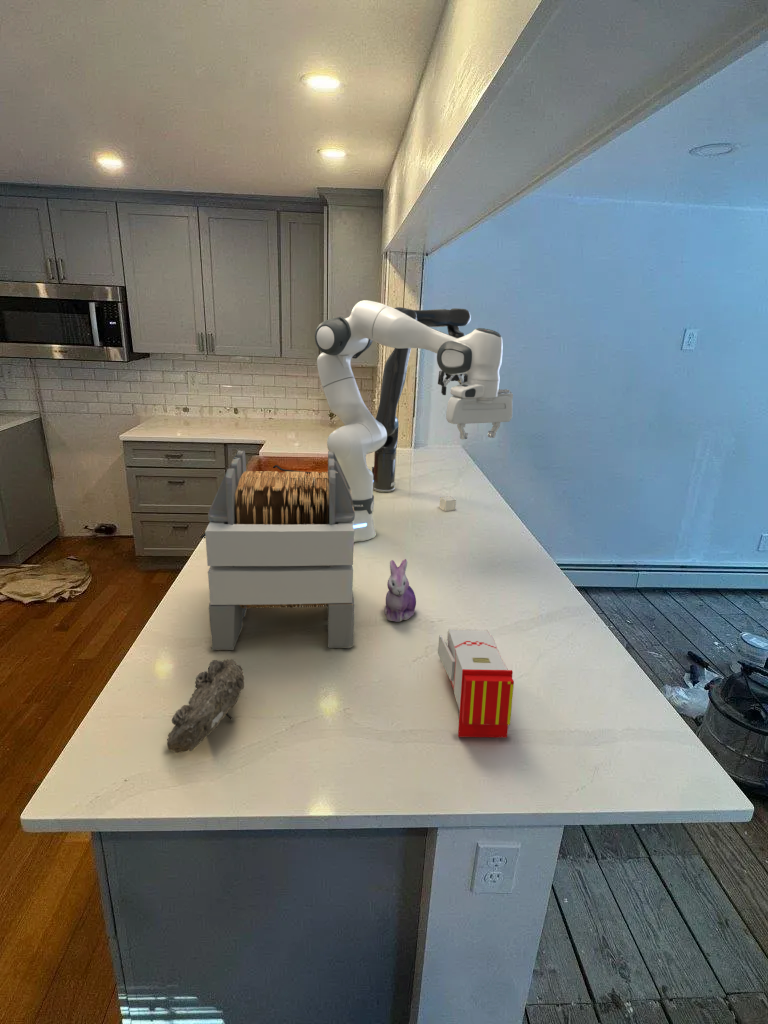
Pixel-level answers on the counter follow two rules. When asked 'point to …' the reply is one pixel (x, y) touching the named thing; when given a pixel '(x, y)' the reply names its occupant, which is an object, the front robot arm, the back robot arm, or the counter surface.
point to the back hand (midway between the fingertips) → (452, 394)
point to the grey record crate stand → (280, 548)
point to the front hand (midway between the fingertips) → (477, 438)
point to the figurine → (399, 594)
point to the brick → (447, 503)
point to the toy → (478, 682)
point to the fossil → (206, 705)
